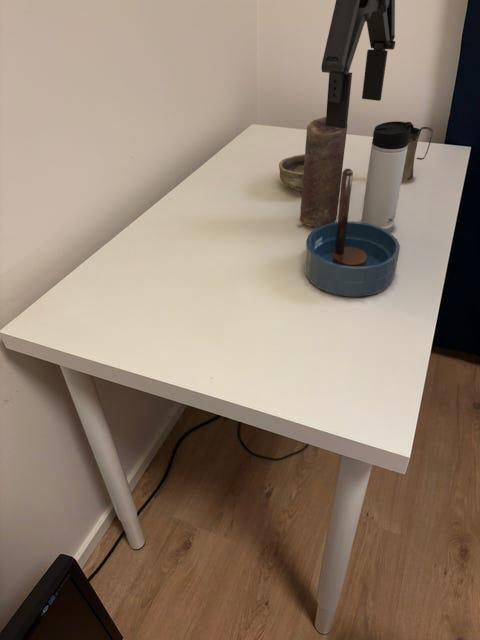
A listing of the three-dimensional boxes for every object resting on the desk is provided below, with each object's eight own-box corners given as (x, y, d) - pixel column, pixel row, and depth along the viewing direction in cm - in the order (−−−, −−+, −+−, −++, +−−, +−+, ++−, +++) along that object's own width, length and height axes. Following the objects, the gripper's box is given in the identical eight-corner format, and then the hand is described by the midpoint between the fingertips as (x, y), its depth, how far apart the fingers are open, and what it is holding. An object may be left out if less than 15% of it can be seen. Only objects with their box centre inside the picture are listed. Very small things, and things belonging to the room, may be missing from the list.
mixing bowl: (404, 263, 86) (411, 233, 82) (376, 309, 76) (381, 278, 73) (325, 242, 93) (328, 214, 89) (289, 283, 83) (290, 253, 79)
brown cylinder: (344, 222, 99) (355, 120, 86) (323, 236, 95) (332, 132, 82) (313, 211, 103) (319, 113, 90) (292, 224, 99) (296, 123, 86)
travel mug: (397, 234, 94) (418, 129, 81) (363, 235, 94) (378, 130, 82) (390, 219, 99) (408, 117, 86) (358, 219, 99) (371, 118, 86)
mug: (385, 180, 113) (393, 128, 106) (390, 172, 117) (398, 120, 109) (420, 186, 110) (431, 132, 103) (424, 176, 114) (435, 124, 106)
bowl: (266, 193, 110) (266, 149, 104) (303, 166, 121) (304, 126, 115) (320, 207, 104) (323, 161, 98) (354, 177, 115) (359, 135, 109)
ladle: (369, 266, 85) (384, 167, 74) (357, 282, 81) (372, 181, 70) (339, 258, 87) (350, 161, 76) (326, 273, 84) (336, 174, 72)
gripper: (379, -84, 65) (360, 87, 78) (297, -80, 48) (291, 135, 62) (437, -87, 61) (407, 92, 75) (370, -83, 45) (346, 144, 59)
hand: (354, 112), depth 68 cm, fingers open, 13 cm apart
